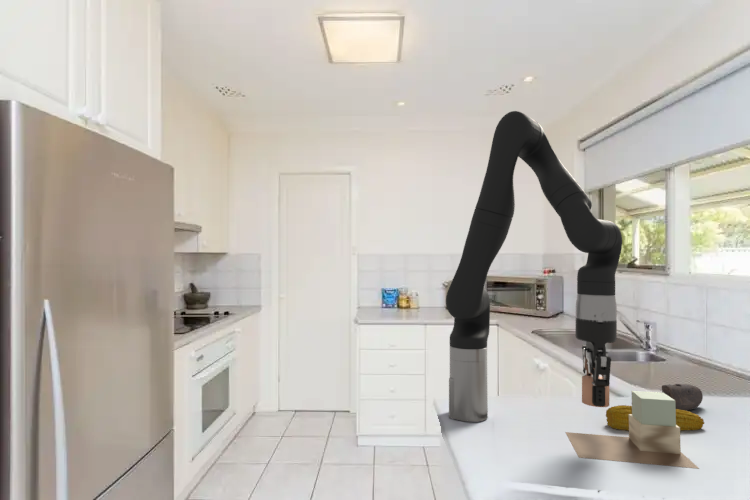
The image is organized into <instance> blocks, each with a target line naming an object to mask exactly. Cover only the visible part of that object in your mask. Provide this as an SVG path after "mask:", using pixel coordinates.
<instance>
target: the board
mask: <svg viewBox="0 0 750 500" xmlns="http://www.w3.org/2000/svg"><path fill="white" fill-rule="evenodd" d="M565 434H566V436H567V438H568V441H569V442H570V443H571V446H572V447H573V449H574V451H575V453H576V454H577V457H578V458H579V459H589V460H591V459H592V460H599V461H600V460H601V461H610V462H611V461H612V462H623V463H634V464H643V465H654V466H655V465H656V466H664V467H665V466H666V467H674V468H675V467H677V468H687V469H700V468H699V467H698V466H697V464H695V463H694V462H693V461H692V460H691V459H690V458H688V457H687V456H686V455H685V454H684V453H683V452H681V454H674V453H662V452H651V451H640V450H639V448H638V447H637V446H636V445H635V444H634V443H633V442H632V441H631V439H630V438H629V436H619V435H608V434H607V435H606V434H605V435H604V434H592V433H583V432H582V433H580V432H570V431H569V432H568V431H567V432H566V431H565Z"/></svg>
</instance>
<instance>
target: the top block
mask: <svg viewBox="0 0 750 500" xmlns="http://www.w3.org/2000/svg"><path fill="white" fill-rule="evenodd" d="M631 406H632V415H633V416H634V417H635V418H636V419H637V420H638V421H639V422H640V423H641V424H648V425H661V426H675V427H676V407H675V400H674V399H672V398H671V397H669V396H668V395H666V394H665V393H662V392H659V391H657V392H656V391H641V390H631Z"/></svg>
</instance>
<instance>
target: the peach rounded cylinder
mask: <svg viewBox="0 0 750 500" xmlns="http://www.w3.org/2000/svg"><path fill="white" fill-rule="evenodd" d="M598 379H602V376H601V375H599V377H598ZM581 403H582V404H584V405H586V406H589V407H595V408H608V407H610V385H609V386H607V387H605V406H603V407H602V406H594V405H593V403H592V376H590V375H588V376H585V375H582V376H581Z"/></svg>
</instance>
